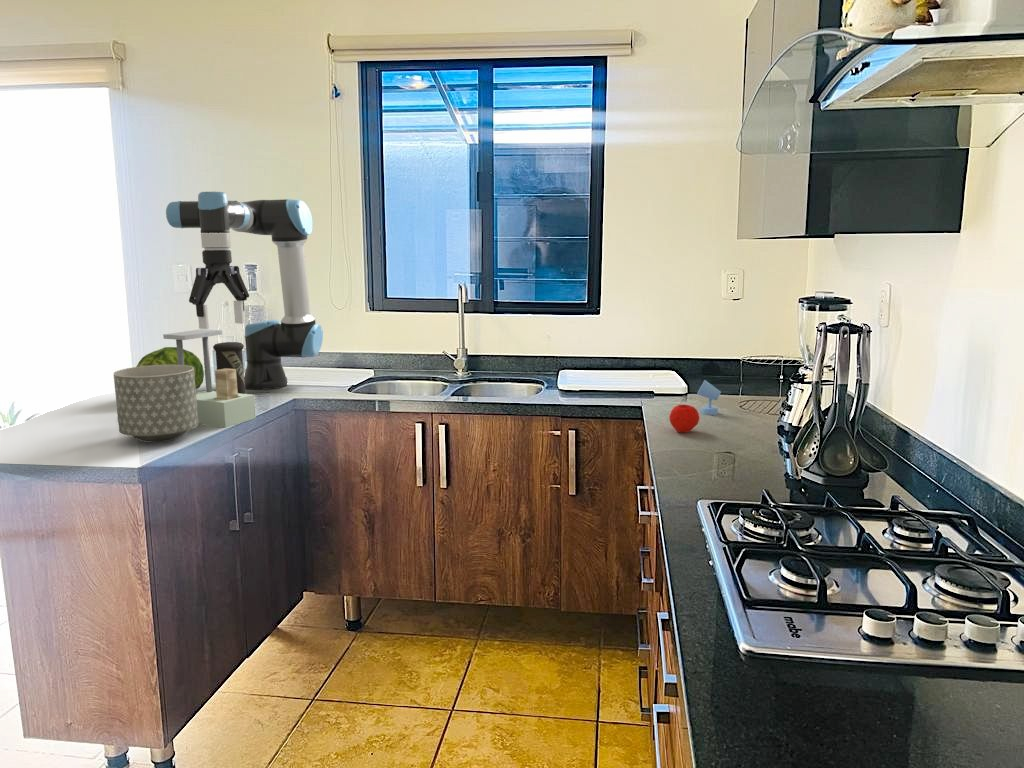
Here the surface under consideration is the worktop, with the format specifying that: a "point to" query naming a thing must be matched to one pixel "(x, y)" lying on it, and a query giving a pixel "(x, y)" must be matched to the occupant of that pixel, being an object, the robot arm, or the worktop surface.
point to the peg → (226, 384)
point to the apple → (684, 418)
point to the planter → (156, 401)
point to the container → (231, 361)
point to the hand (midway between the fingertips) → (222, 326)
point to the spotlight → (710, 393)
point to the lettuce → (174, 361)
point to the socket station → (207, 402)
